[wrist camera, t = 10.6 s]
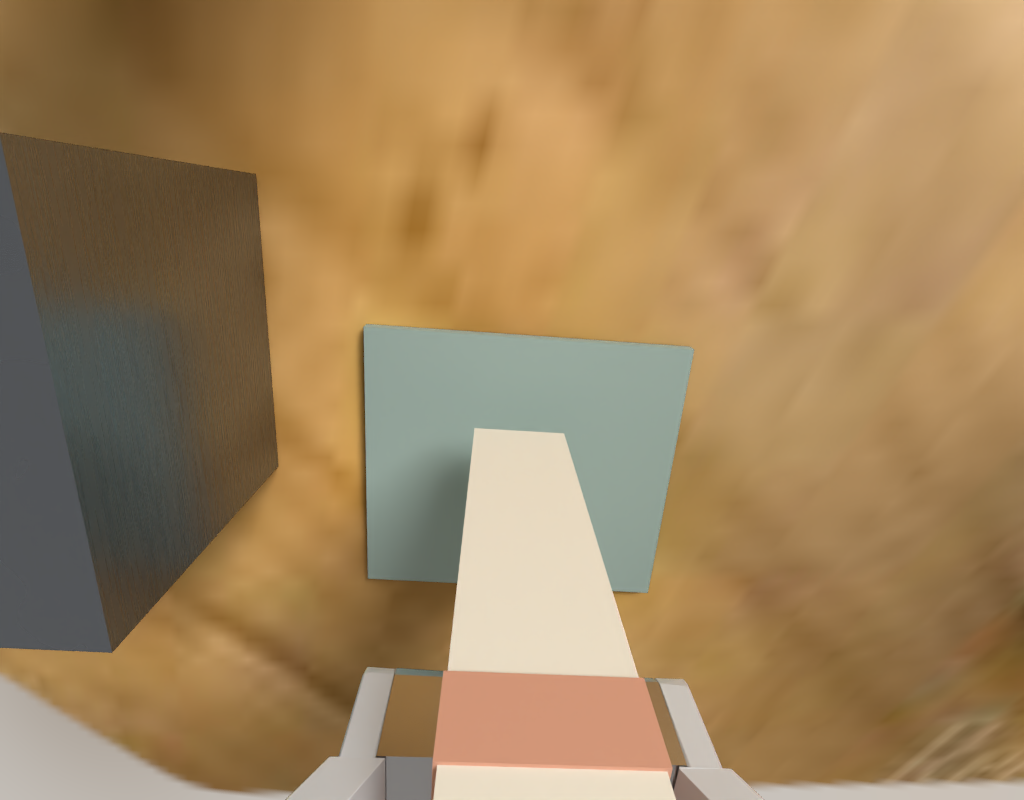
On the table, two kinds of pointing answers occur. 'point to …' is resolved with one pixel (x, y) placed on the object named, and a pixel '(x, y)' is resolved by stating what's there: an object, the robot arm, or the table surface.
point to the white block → (539, 645)
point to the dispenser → (122, 382)
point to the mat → (522, 407)
